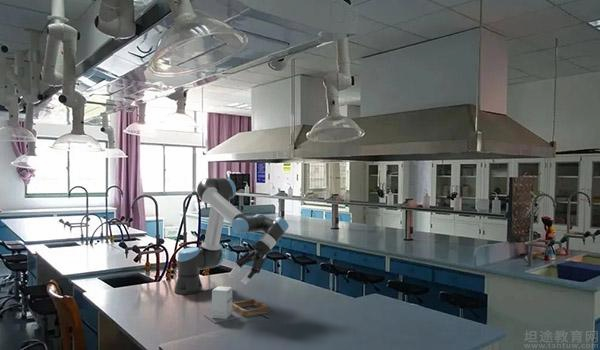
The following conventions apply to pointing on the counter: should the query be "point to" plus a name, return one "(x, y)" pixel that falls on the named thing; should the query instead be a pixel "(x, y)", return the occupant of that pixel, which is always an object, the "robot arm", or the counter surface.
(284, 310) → the counter surface
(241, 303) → the crate
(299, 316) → the counter surface
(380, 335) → the counter surface
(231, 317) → the mat
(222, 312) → the supplement box
